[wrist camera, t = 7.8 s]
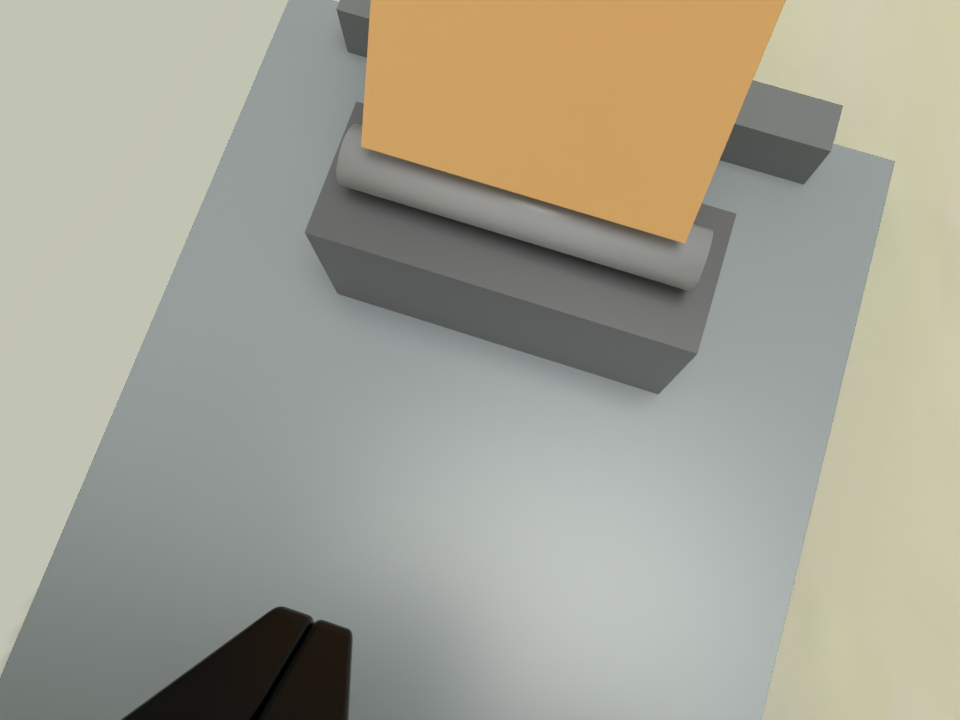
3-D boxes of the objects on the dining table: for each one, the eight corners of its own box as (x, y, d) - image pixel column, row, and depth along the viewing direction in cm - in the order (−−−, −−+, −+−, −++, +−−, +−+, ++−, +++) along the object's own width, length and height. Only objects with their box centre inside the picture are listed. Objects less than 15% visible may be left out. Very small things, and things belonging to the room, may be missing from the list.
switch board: (660, 1061, 19) (723, 1241, 14) (-28, 803, 20) (-201, 881, 15) (874, 182, 23) (981, 73, 18) (302, 16, 25) (254, -127, 20)
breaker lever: (687, 309, 17) (875, -114, 11) (332, 201, 17) (350, -252, 12) (695, 261, 18) (872, -148, 12) (360, 160, 18) (390, -273, 13)
